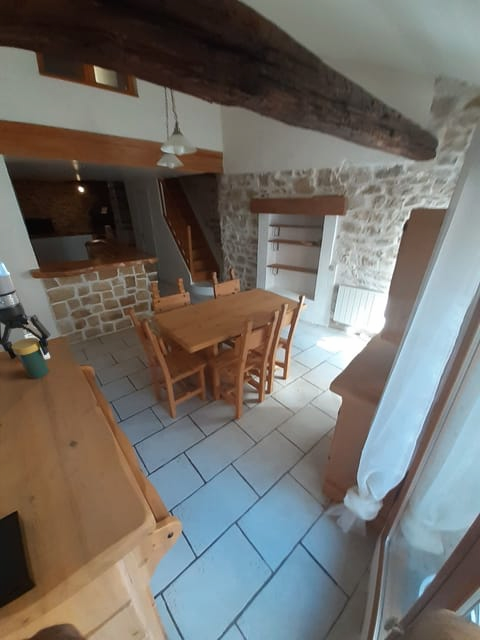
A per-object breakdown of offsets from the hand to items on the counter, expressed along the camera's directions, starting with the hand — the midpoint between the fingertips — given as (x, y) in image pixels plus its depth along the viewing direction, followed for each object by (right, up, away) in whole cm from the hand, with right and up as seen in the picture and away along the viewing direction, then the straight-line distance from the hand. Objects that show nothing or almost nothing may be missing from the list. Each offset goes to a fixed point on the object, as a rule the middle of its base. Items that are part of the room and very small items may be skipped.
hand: (30, 355), depth 101 cm
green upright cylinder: (0, -8, +4) cm, 9 cm away
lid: (0, +5, -2) cm, 5 cm away
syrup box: (-6, -3, +14) cm, 16 cm away
